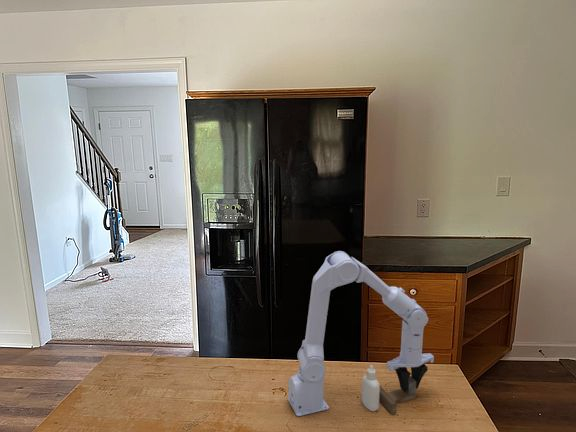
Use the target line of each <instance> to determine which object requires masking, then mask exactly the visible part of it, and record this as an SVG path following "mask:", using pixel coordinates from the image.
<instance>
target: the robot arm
mask: <svg viewBox="0 0 576 432" xmlns="http://www.w3.org/2000/svg"><path fill="white" fill-rule="evenodd" d="M353 282H356V283H357V284H358V283H362V282H363V283H365V284H366V285H367V286H369V287H370V288H372V289H373V290H374V291H375V292H377V294H379V295H381V299H382V303H383V304H384V305H385V306H387V307H388V308H389V309H390V310H392V311H393V312H394V313H395V314H397V315H398V316H399V317H400V318H402V323H401V340H400V341H401V343H400V352H399V356H397V357H395V358H393V359H392V360H389V361H387V362H386V368H387V370H388V371H390V372H394V371H395V373H396V376H397V378H398V382H399V388H400V389H402V390H403V391H404V392H406V391H407V387H408V380H409V377H410V376H411V377H412V378H413V379H414V380H415V381H416V390H418V389H419V386H420V383H421V381H422V380H423V377H424V376H425V374H426V373H427V372H428V366H427V365H426V363H434V362H435V361H434V360H435V356H434V355H433V354H432V353H430V352H428V353H422V352H423V340H424V339H423V338H424V329H425V326H426V325H427V324H428V322H429V319H430V318H429V317H428V314H427V312H426V311H425V309H424V308H423V307H422V306H420V305H419V304H418V303H417V300H416V299H414V298H410V297H409V296H408V295H407V294H406V293H405V292H406V290H405V289H403V288H402V287H397V286H390V285H388V284H386V283H385V282H384V281H383V280H382V279H381V278H379V276H377V275H376V273H374V272H373V271H372V270H370V269H369V268H368V266H367V265H365V264H363V263H362V262H360V261H359V260H357V259H356V258H355V257H353V256H350V255H349V254H348V253H346V252H345V251H342V250H338V251H334V252H333V253H331V254H329V255H328V256H326V257H325V259H324V262H323V264H322V265H321V266H320V268H319V269H318V271H317V272H316V273H315V274H314V275H313V278H312V282H311V290H310V297H309V298H310V299H309V304H308V314H307V321H306V322H307V323H306V329H305V336H304V338H305V339H303V340H302V341H301V342H302V343H301V347H300V348H299V350H298V351H297V360H298V362H299V365H300V366H299V368H298V371H297V373H296V374H294V375H293V376H291V377H289V379H288V397H287V400H288V402H289V404H290V406H291V408H292V410H293V412H294V413H295V416H297V417H301V416H306V415H311V414H314V413H315V414H316V413H318V412H322V411H326V410H329V409H330V406H329V405H328V403H327V402H326V401H325V399H324V392H325V391H324V386H325V385H324V384H325V379H324V378H325V375H326V366H325V363H324V361H325V356H324V355H325V354H324V341H325V333H326V325H327V319H328V318H327V316H328V311H329V304H330V296H331V291H332V290H334V289H336V288H337V287H341V286H344V285H347V284H348V285H349V284H350V283H353ZM408 368H410V371H408Z"/></svg>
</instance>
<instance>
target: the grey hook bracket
mask: <svg viewBox="0 0 576 432" xmlns="http://www.w3.org/2000/svg"><path fill="white" fill-rule="evenodd" d="M416 392H417V389H416V381H415V380H414V379H413V378H412V377H411V375H410V377H409V380H408V387H407V391H406V392H404V391H403V390H402V389H401V388H400V389H395V390H390V391H386V390H385V389H384V388H383V387H382V386H381V385H380V392H379V403H381V405H383V407H384V408H385V409H386V410H387V411H388V413H390V415H395V414H397V407H398V406H397V405H398V404H400V403H404V402H408V401H411V400H415V399H417V398H418V397H417V396H418V395H417V393H416Z"/></svg>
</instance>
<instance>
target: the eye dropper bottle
mask: <svg viewBox="0 0 576 432" xmlns="http://www.w3.org/2000/svg"><path fill="white" fill-rule="evenodd" d="M376 372H377V371H376V369H375V368H374V365H373V364H370V366H369V368H367V369H366V374H365V375H364V376H362V379H361V380H362V381H361V382H362V383H361V385H362V386H361V402H362V404H363V406H364V407H365V408H366V409H367V410H369V411H371V412H375V411H379V409H380V401H379V392H380V386H381V385H380V382H379V380H378V379H377V378H376V375H377V373H376Z"/></svg>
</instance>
